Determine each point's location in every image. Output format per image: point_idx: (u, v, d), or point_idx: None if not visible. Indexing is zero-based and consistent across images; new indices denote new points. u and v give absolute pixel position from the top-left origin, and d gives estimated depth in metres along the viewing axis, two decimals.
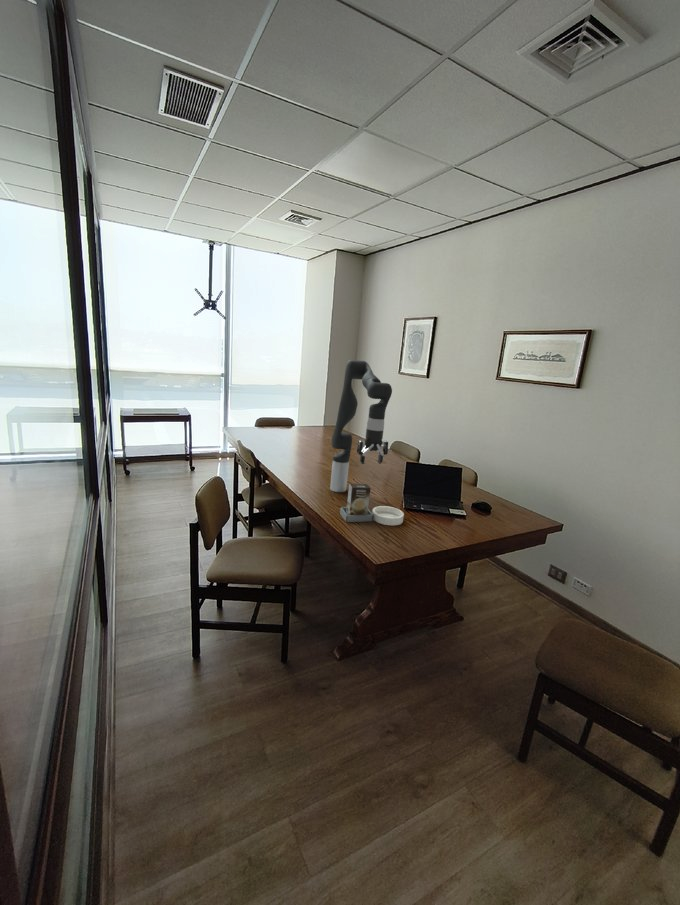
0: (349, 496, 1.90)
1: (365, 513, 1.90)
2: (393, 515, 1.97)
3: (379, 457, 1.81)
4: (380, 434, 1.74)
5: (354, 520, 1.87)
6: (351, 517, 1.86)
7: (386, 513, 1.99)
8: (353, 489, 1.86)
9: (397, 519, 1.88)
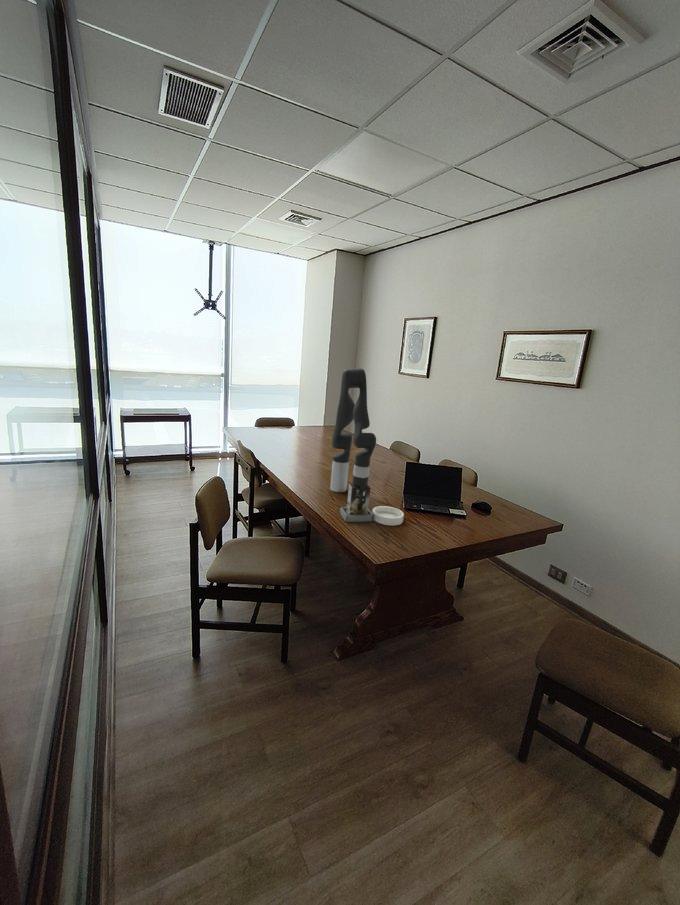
0: (349, 496, 1.90)
1: (365, 513, 1.90)
2: (393, 515, 1.97)
3: None
4: None
5: (354, 520, 1.87)
6: (351, 517, 1.86)
7: (386, 513, 1.99)
8: (353, 489, 1.86)
9: (397, 519, 1.88)
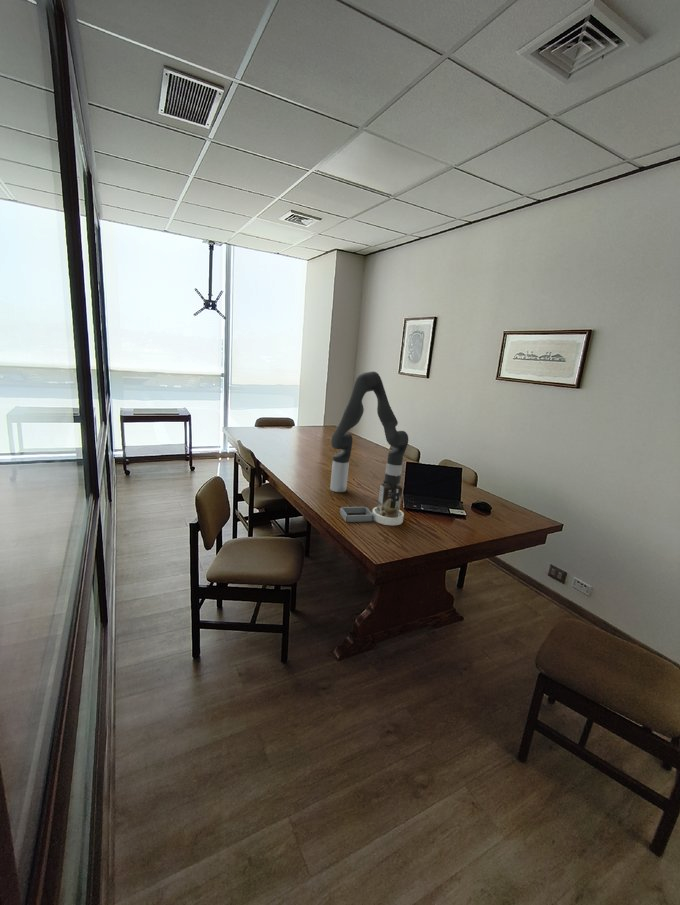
0: (381, 496, 1.91)
1: (396, 513, 1.92)
2: None
3: None
4: None
5: (354, 520, 1.87)
6: (351, 517, 1.86)
7: None
8: (385, 489, 1.87)
9: (397, 519, 1.88)
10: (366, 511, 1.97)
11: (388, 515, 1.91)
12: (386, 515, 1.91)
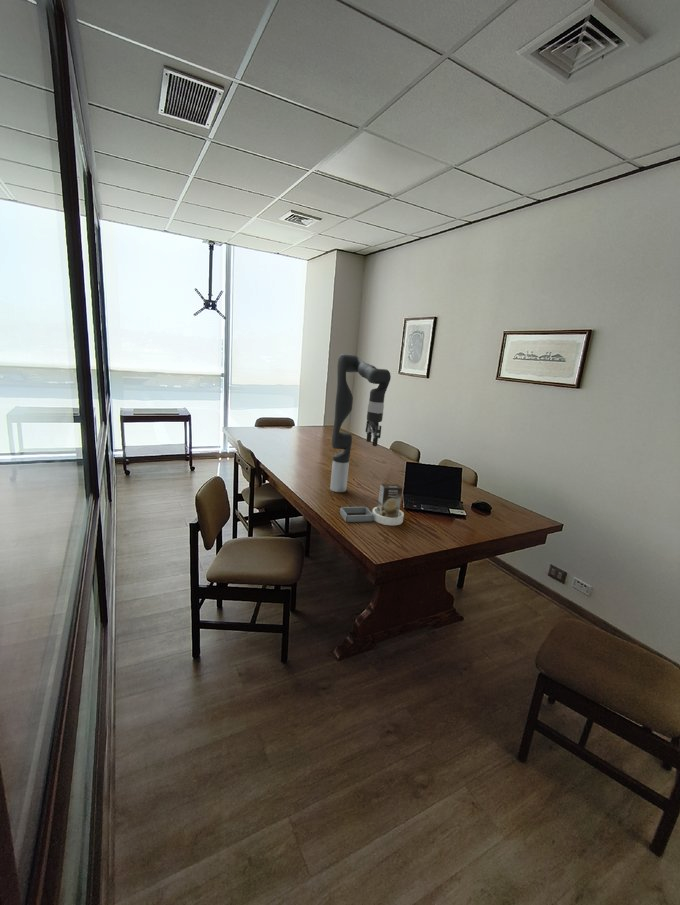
0: (381, 496, 1.91)
1: (396, 513, 1.92)
2: None
3: (369, 436, 1.99)
4: None
5: (354, 520, 1.87)
6: (351, 517, 1.86)
7: None
8: (385, 489, 1.87)
9: (397, 519, 1.88)
10: (366, 511, 1.97)
11: (388, 515, 1.91)
12: (386, 515, 1.91)
